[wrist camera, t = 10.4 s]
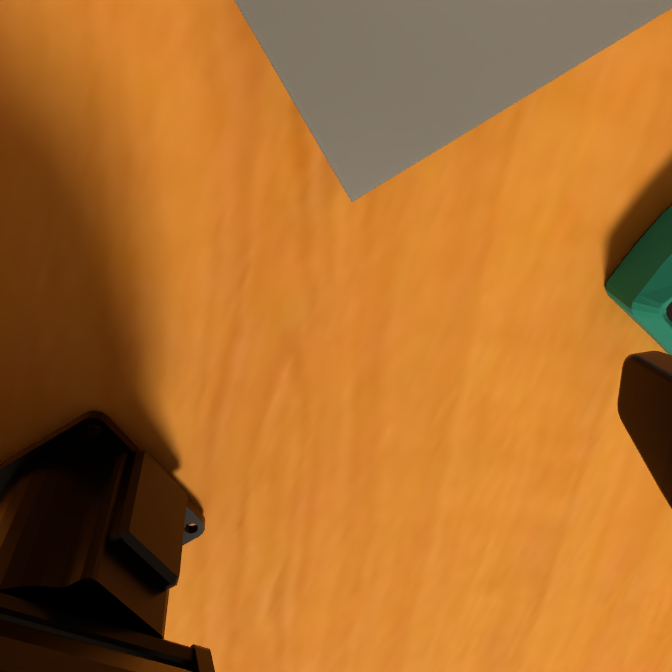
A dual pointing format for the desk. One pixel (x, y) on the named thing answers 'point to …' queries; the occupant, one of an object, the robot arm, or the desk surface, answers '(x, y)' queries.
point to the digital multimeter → (648, 282)
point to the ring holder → (423, 67)
